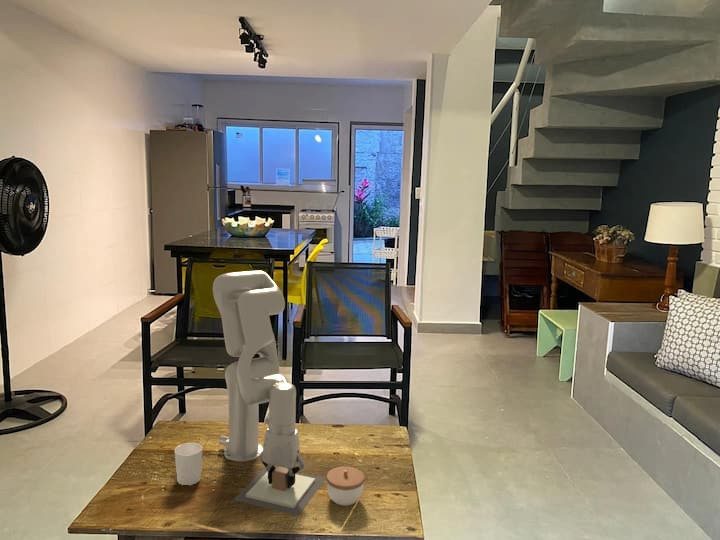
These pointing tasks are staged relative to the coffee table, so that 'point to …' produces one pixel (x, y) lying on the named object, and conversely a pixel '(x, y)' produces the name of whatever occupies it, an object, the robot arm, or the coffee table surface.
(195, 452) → the white cup
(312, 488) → the mat
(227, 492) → the coffee table surface
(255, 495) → the lid sheet
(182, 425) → the coffee table surface
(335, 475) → the lidded jar
